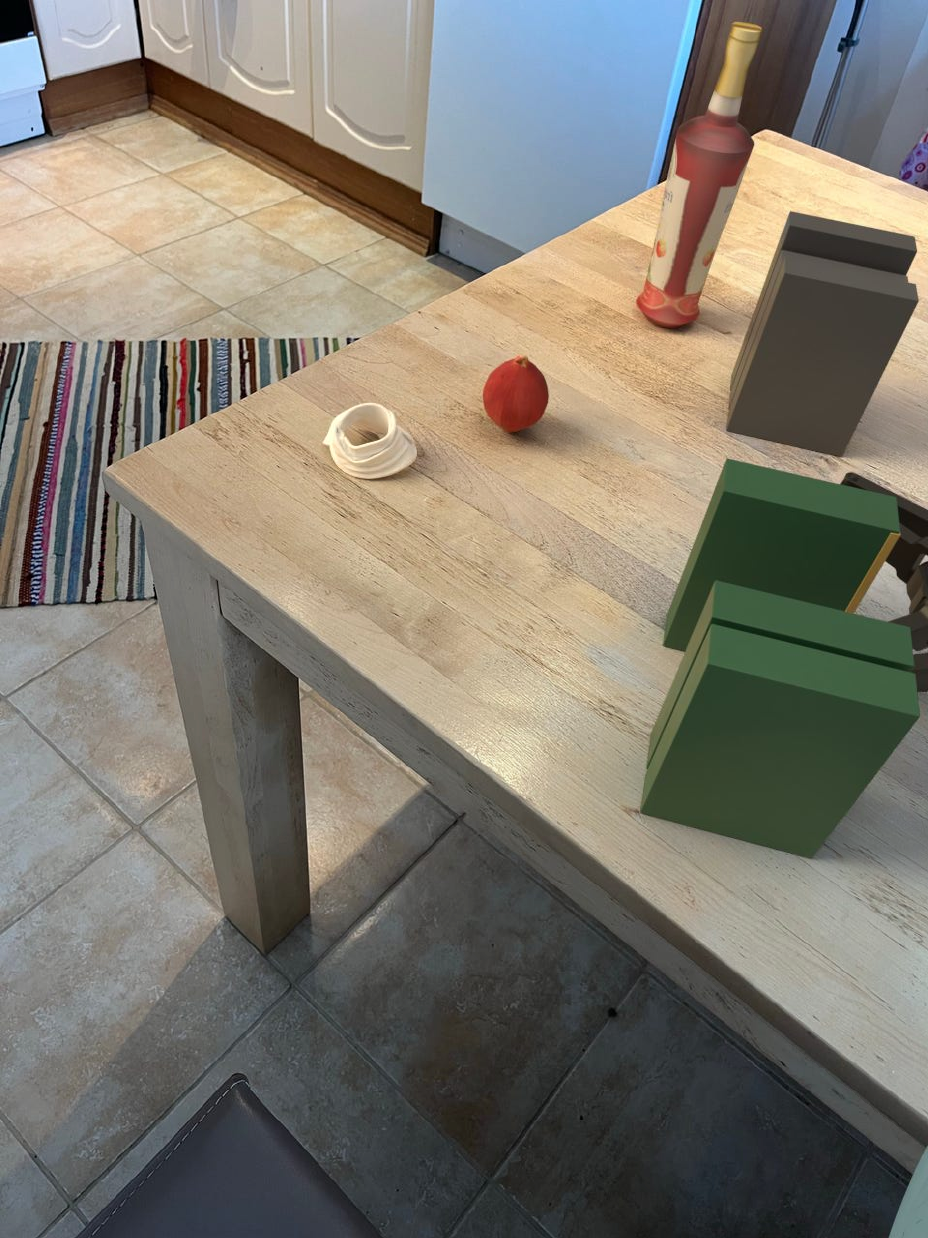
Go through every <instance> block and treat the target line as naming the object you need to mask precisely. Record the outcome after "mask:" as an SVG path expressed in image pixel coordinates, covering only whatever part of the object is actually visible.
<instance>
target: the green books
mask: <svg viewBox="0 0 928 1238" xmlns="http://www.w3.org/2000/svg"><path fill="white" fill-rule="evenodd" d="M913 654H914V649H913V647H912V638H911V629H910V627H907V626H903V625H898V624H894V623H890V622H889V621H886V620H882V619H878V618H873V617H869V616H865V615H861V614H857V613H854V614H853V613H849V612H845V611H841V610H836V609H832V608H828V607H824V606H820V605H816V604H812V603H808V602H803V601H799V600H795V599H791V598H787V597H783V596H779V595H775V594H770V593H766V592H762V591H758V590H754V589H750V588H746V587H741V586H737V585H733V584H729V583H725V582H721V581H717V580H716V581H715V582H714V585H713V587H712V589H711V592H710V594H709V596H708V599H707V601H706V604H705V606H704V608H703V611H702V613H701V615H700V618H699V620H698V623H697V625H696V627H695V630H694V632H693V635H692V637H691V639H690V642H689V644H688V646H687V649H686V651H684V653H683V656H682V658H681V661H680V663H679V665H678V668H677V670H676V673H675V674H674V678H673V679H672V682H671V685H670V687H669V690H668V692H667V694H666V697H665V699H664V702H663V703H662V705H661V708H660V711H659V713H658V715H657V718H656V720H655V723H654V725H653V727H652V730H651V732H650V736H649V744H648V750H647V751H648V752H647V758H646V764H645V765H646V766H645V769H646V772H645V774H644V779H643V786H642V787H643V788H642V793H641V795H642V796H641V800H640V801H641V802H640V810H639V813H640V814H643V815H646V816H651V817H655V818H658V819H662V820H666V821H669V822H673V823H677V824H680V825H683V826H688V827H691V828H694V829H695V828H696V829H699V830H702V831H705V832H706V831H707V832H710V833H714V834H717V835H721V836H726V837H730V838H734V839H736V840H741V841H744V842H748V843H751V844H755V845H758V846H763V847H767V848H770V849H775V850H777V851H781V852H785V853H789V854H793V855H795V856H796V855H797V856H800V857H804V858H808V859H813V858H814V856H815V855H816V854H817V853H818V852H819V850H820V849H821V847H823V845H824V843H825V842H826V841H827V840H828V838H829V837H830V836H831V835H832V833H833V832H834V831H835V829H836V828H837V826H838V825H839V824H840V822H841V821H842V820H843V819H844V817H845V816H846V815H847V813H848V812H849V811H850V809H851V808H852V807H853V805H854V804H855V803H856V801H857V800H858V799H859V798H860V796H861V795H862V794H863V792H864V791H865V790H866V789H867V787H868V786H869V784H870V783H871V782H872V781H873V779H874V778H875V777H876V775H877V774H878V773H879V771H880V770H881V769H882V768H883V766H884V765H885V763H887V762H888V760H889V758H890V757H891V755H892V754H893V753H894V752H895V750H896V749H897V747H899V745H900V744H901V742H902V741H903V740H904V739H905V738H906V736H907V735H908V734H909V732H910V731H911V729H912V728H913V727H914V725H915V724H916V723H917V721H918V720H919V719H920V717H921V712H920V703H919V695H918V693H919V692H918V693H917V684H916V675H915V674H914V673H910V672H911V671H912V669H913V668H914V657H913Z"/></svg>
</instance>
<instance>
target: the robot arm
mask: <svg viewBox="0 0 928 1238" xmlns="http://www.w3.org/2000/svg"><path fill="white" fill-rule="evenodd" d="M839 484H841V485H845V486H849V487H854V488H858V489H862V490H867V491H871V492H875V493H880V494H884V495H888V496H893V497H896V498H897V507H898V516H899V526H900V537H899V539H898V540H897V542H896V544H895V545H894V547H893V549H892V550H891V552H890V554H889V555H888V557H887V559H886V560H885V563H887V564H888V565H890V566H891V567H892V568H893V569H894V570H895V575H896V577H897V578H898V580H900V581H901V582H903V583H904V584H905V586H906V595H907V596H908V598H909V601H910V603H909V606H908V613H909V614H906V615H903V616H900V617H897V618H894V619H891V620H889V621H888V622H890V623H894V624H898V625H903V626H907V627H910V629H911V638H912V647H913V651H915V652H921V651H923V650H927V649H928V560H926V561H924V562H923V560H924V559H925V557H926V556H927V557H928V508H925V507H923V506H921V505H919V504H917V503H916V502H913V501H912V500H909V499H907V498H906V497H904V496H902V495H900V494H897V493H895V492H894V491H892V490H890V489H888V488H885V487H884V486H882V485H880V484H878V483H876V482H874V481H873V480H870V479H868V478H867V477H865V476H861V475H860V474H858V473H856V472H853V471H849V472H846V473H845V475H844V477H843V479H842V480H841V482H840V483H839ZM913 657H914V668H913V669H912V671H911V672H910V673H914V674H915V675H916V684H917V693H925V692H928V652H923V653H913ZM907 1185H908V1186H907V1188H906V1190H905V1193H904V1194H903V1198H902V1200H901V1202H900V1205H899V1207H898V1210H897V1213H896V1216H895V1219H894V1221H893V1224H892V1227H891V1230H890V1233H889V1236H888V1238H928V1145H927V1146H926V1148H925V1150H924V1152H923V1153H922V1156H920V1159H919V1162H918V1163H917V1166H916V1167H915V1170H914V1172H913V1173H912V1176H911V1179H910V1181H909V1184H907Z"/></svg>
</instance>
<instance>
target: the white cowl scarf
mask: <svg viewBox="0 0 928 1238" xmlns="http://www.w3.org/2000/svg"><path fill="white" fill-rule="evenodd" d="M353 425H354V426H356V427H357V428H360V429H362V430H366V431H368V432H370V433H373V434H375V435H376V436H377V437H378V438H379V439H378V440H374V441H371V442H367V443H364V444H360V445H353V444H352V443H351V441H350V440H349V439H348V437H347V436H346V432H347V431H348V430H349V429H350V428H351V427H352V426H353ZM322 444H323V445H325V446H327V447H329V452H330V455H331V457H332V460H333V461H334V463H335V465H336V466H337V467H338V468H339V469H340V470H341V471H343V472H344V473H346V474H348V476H351V477H355V478H358V479H364V480H374V479H380V478H385V477H388V476H392V475H395V474H396V473H399V472H401V471H403V470H405V469H406V468H407V467H409V466H410V465H412V464H413V463H414V462H415V461H416V459H417V456H418V449H417V446H416V442H415V440H414V438H413V437H412V436H411V435H410V434H409V433H408V432H407V431H406V430H405V429H404V428H402V427H400V426H399V425H398V419H397V417H396V414H395V413H394V411H392V410H390V409H388V408H386V407H385V406H384V405H382V404H379V403H377V402H364V403H361V404H357V405H355V406H352V407H350V408H348V409H347V410H345V411H343V412H341V413H340V414H338V415H337V416H336V417H335V418H334V419H333V420H332V422H331V423H330V426H329V429H328V431H327V434H326V436H325V438H324V439H323V441H322Z"/></svg>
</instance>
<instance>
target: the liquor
mask: <svg viewBox="0 0 928 1238" xmlns="http://www.w3.org/2000/svg"><path fill="white" fill-rule="evenodd" d="M762 31H763V28H762V27H761V26H759V25H757V24H754V23H751V22H747V21H734V22H732V23H731V26H730V29H729V33H728V37H727V41H726V45H725V51H724V61H723V65H722V68H721V71H720V74H719V77H718V79H717V81H716V84H715V88H714V90H713V93H712V96H711V99H710V100H709V104H708V107H707V110H706V112H705V114H704V115H700V116H694V117H693V118H690V119H689V120H687V121H685V122H683V123H682V124H680V125H679V126H678V128H677V129H676V134H675V140H674V144H673V148H672V149H673V150H672V154H671V159H670V163H669V168H668V173H667V178H666V181H665V187H664V192H663V198H662V203H661V207H660V213H659V219H658V224H657V227H656V233H655V237H654V242H653V245H652V246H653V247H652V251H651V256H650V261H649V265H648V269H647V273H646V278H645V282H644V286H643V291H642V292H641V293H640V294H639V295H638V296H637V298H636V306H637V307H638V309H639V310H640V312H641V314H643V317H644V318H645V319H646V320H647V321H648V322H649V323H651V324H653V325H655V326H657V327H659V328H663V329H664V328H665V329H676V328H680V327H683V326H685V325H687V324H689V323H691V322H694V321H695V320H697V319H698V317H699V316H700V308H699V302H700V299H701V296H702V293H703V289H704V286H705V284H706V281H707V278H708V275H709V272H710V269H711V266H712V263H713V261H714V258H715V255H716V252H717V249H718V246H719V243H720V241H721V238H722V235H723V233H724V230H725V227H726V225H727V222H728V219H729V217H730V214H731V212H732V209H733V206H734V204H735V201H736V200H737V199H736V198H737V196H738V193H739V190H740V187H741V184H742V181H743V178H744V176H745V172H746V169H747V167H748V164H749V161H750V158H751V155H752V153H753V150H754V147H755V141H754V139H753V137H752V136H751V134H750V132H749V131H748V130H747V128H746V127H744V126H743V125H742V124H741V123H739V122H738V120H739V114H740V108H741V105H742V104H741V103H742V100H743V95H744V91H745V85H746V80H747V77H748V76H747V75H748V71H749V68H750V66H751V64H752V61H753V59H754V56H755V54H756V52H757V49H758V46H759V41H760V38H761V36H762Z"/></svg>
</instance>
